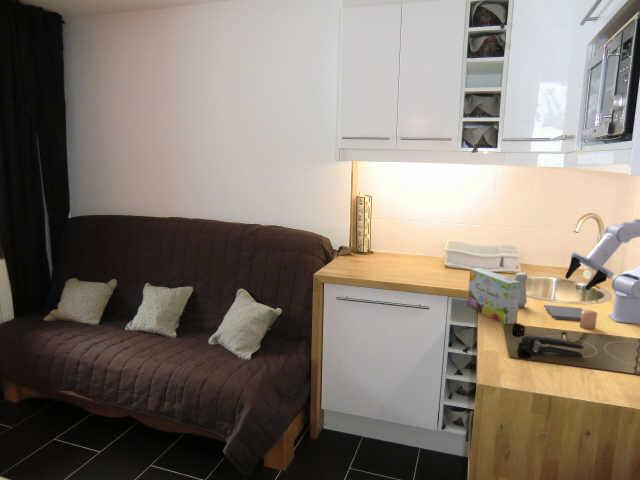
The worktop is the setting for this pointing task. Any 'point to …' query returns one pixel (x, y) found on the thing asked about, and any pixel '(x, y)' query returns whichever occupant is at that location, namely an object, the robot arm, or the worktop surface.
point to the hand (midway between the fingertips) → (576, 283)
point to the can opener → (535, 347)
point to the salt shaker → (522, 288)
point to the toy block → (588, 319)
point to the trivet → (564, 312)
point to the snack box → (494, 295)
